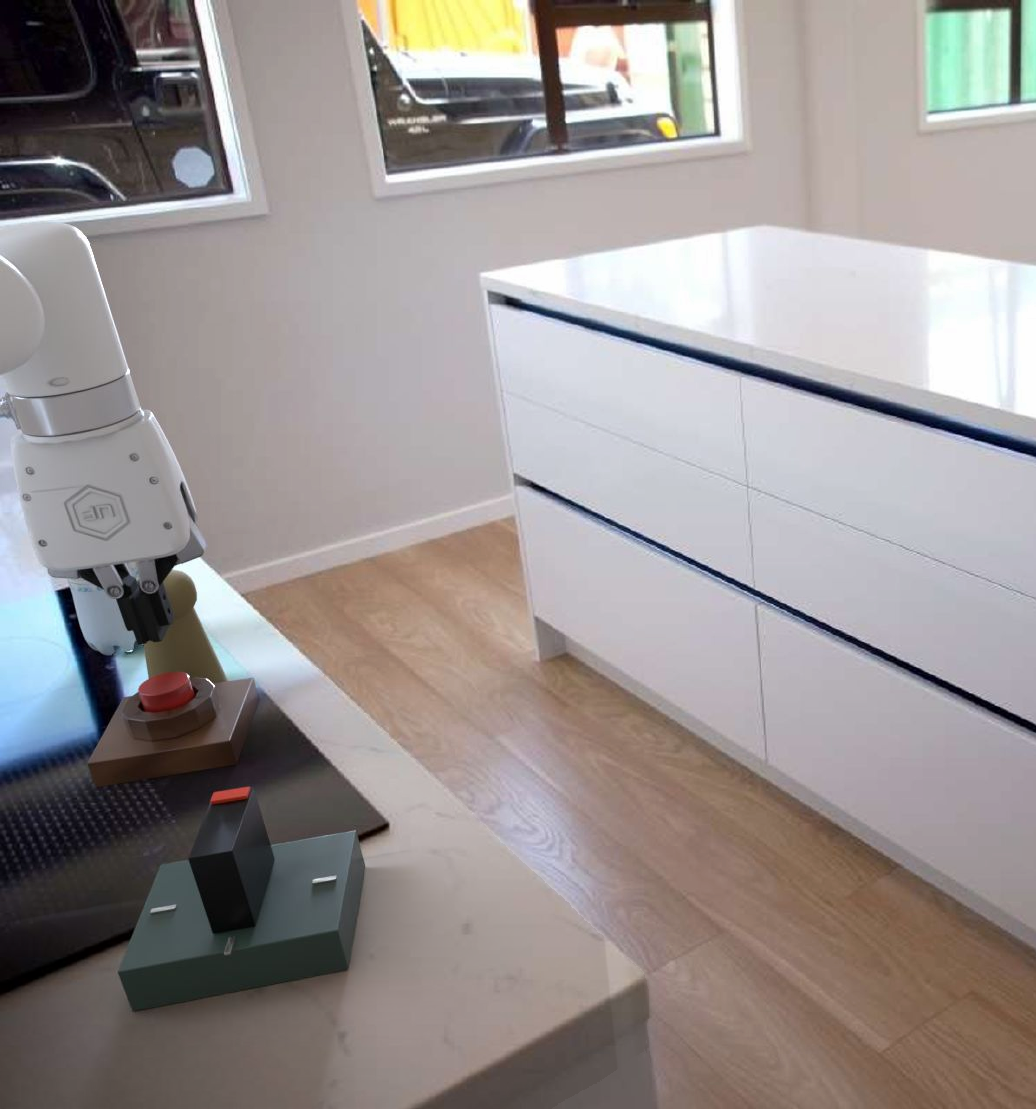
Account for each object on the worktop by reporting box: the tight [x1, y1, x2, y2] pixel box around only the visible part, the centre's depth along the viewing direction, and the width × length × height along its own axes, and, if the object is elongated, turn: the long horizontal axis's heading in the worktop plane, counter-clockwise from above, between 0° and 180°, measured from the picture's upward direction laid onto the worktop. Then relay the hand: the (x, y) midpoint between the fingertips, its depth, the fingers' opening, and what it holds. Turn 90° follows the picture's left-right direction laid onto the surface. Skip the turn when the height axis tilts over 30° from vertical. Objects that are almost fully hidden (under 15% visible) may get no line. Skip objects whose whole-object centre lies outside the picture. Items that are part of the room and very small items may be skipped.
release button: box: [137, 672, 195, 713], centre depth 98 cm, size 4×4×2 cm
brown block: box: [86, 677, 260, 788], centre depth 99 cm, size 10×10×4 cm
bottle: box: [66, 562, 139, 656], centre depth 112 cm, size 7×7×20 cm
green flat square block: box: [117, 830, 366, 1012], centre depth 78 cm, size 12×11×3 cm
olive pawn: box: [136, 569, 229, 684], centre depth 104 cm, size 6×6×11 cm
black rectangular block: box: [187, 786, 275, 934], centre depth 76 cm, size 6×2×6 cm, turn 12°
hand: (154, 634), depth 96 cm, fingers closed
